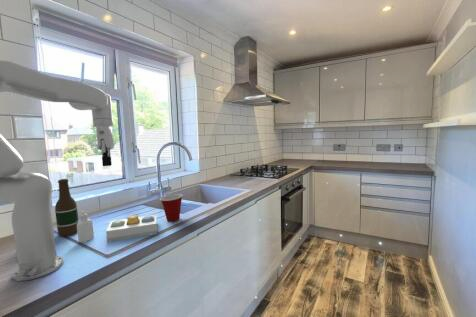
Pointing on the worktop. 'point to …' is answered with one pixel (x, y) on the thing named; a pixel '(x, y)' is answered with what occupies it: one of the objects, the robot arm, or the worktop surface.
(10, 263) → the worktop surface
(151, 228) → the white slotted frame
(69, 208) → the beer bottle
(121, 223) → the button sage
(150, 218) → the button slate
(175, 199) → the plastic cup
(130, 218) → the button amber
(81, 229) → the eye dropper bottle
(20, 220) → the robot arm
